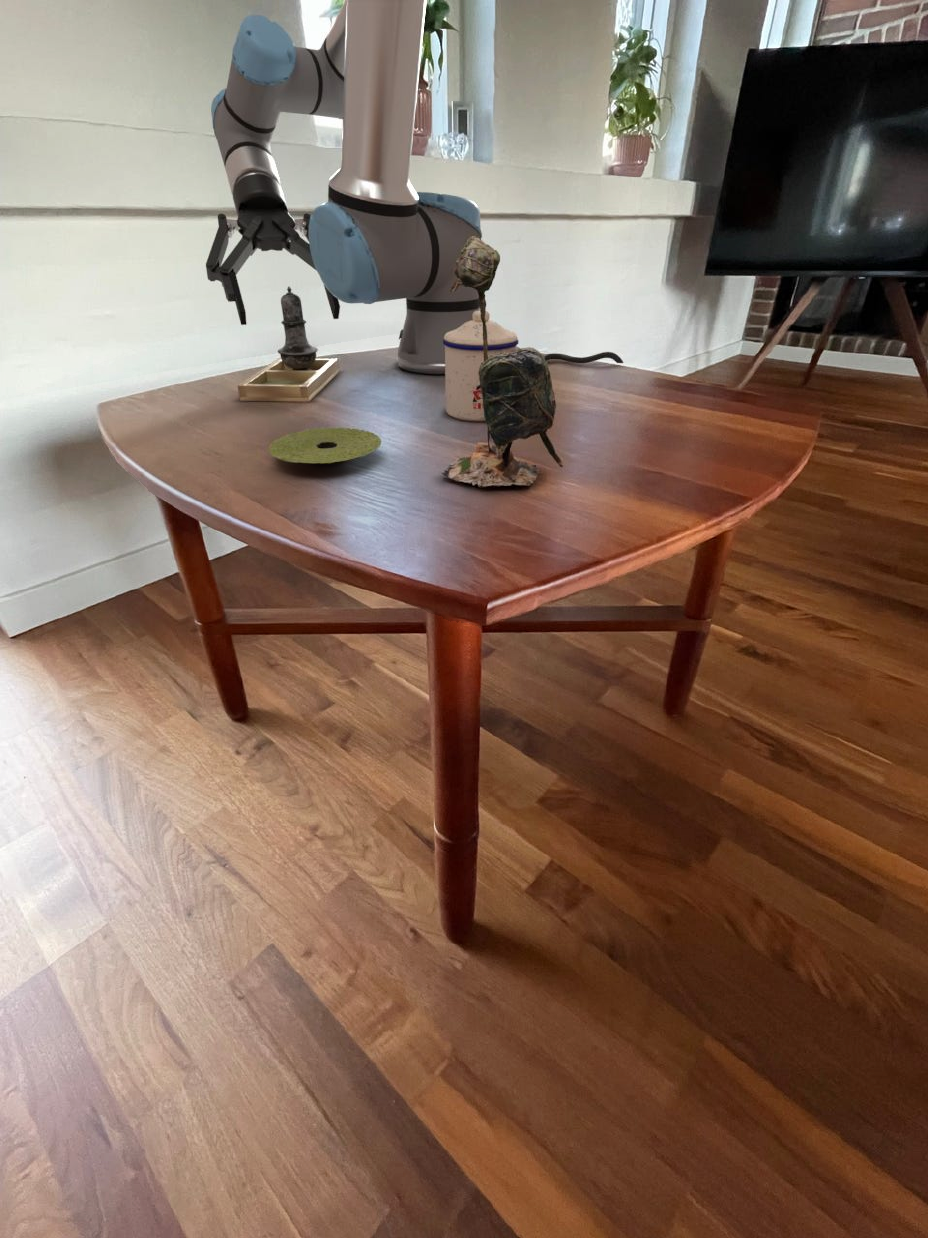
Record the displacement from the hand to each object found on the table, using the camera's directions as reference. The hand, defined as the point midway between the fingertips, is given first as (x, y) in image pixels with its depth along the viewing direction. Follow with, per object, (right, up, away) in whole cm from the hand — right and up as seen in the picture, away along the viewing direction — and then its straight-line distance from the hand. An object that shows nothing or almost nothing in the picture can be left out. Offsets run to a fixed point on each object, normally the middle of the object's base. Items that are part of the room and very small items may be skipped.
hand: (291, 315), depth 90 cm
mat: (+11, -28, -27) cm, 41 cm away
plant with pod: (+29, -31, -31) cm, 53 cm away
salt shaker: (0, -7, +4) cm, 8 cm away
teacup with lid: (+28, -18, -11) cm, 35 cm away
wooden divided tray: (0, -10, 0) cm, 10 cm away
